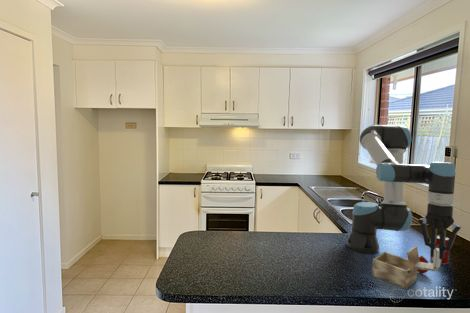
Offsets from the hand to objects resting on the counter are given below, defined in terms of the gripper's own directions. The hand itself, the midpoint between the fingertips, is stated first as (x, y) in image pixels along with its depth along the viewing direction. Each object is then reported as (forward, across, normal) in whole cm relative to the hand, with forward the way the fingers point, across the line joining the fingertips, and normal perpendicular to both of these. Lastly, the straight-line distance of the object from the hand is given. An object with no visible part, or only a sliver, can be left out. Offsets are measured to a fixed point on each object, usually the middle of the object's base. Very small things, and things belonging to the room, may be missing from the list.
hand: (436, 266), depth 103 cm
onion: (+10, -8, +13) cm, 18 cm away
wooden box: (+10, -14, 0) cm, 17 cm away
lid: (0, -8, 0) cm, 8 cm away
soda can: (+10, -6, +33) cm, 35 cm away
